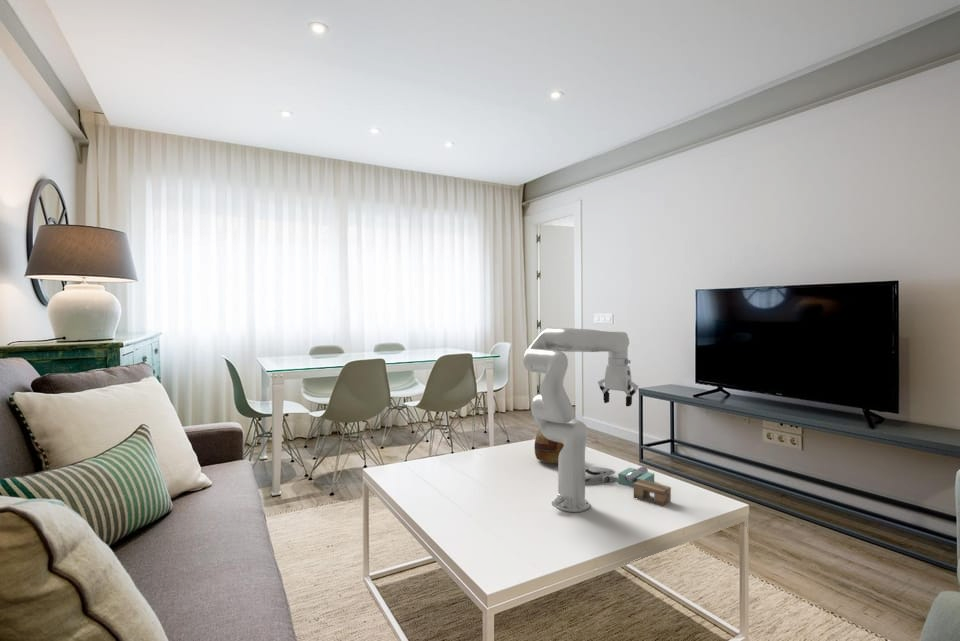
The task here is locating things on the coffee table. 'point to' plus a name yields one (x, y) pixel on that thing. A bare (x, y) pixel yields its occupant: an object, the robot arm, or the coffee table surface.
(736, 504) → the coffee table surface
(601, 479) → the car model
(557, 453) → the ceramic pitcher
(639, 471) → the axle
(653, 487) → the wooden bridge block
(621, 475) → the v block
